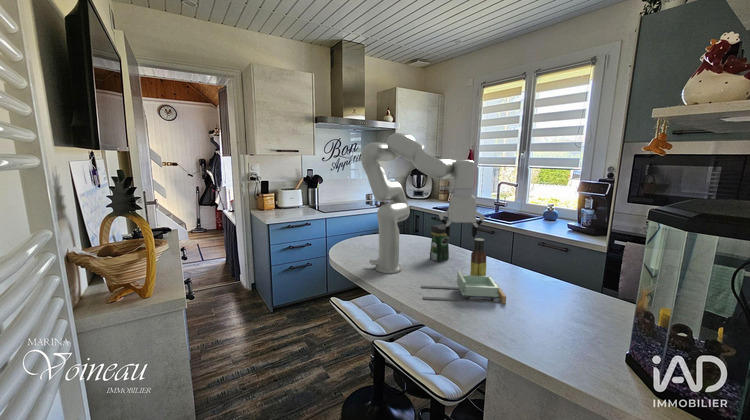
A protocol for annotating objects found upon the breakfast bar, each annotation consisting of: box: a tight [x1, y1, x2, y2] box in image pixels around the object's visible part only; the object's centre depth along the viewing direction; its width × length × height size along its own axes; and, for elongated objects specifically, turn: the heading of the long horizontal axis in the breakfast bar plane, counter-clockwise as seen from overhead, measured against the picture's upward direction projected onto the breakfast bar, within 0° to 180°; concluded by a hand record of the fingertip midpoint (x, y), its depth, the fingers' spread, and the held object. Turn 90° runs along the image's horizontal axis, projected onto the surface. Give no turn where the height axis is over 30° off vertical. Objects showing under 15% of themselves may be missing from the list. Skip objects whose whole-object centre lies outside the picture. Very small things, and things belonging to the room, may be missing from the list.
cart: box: [456, 270, 500, 300], centre depth 117 cm, size 13×11×7 cm
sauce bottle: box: [469, 237, 487, 276], centre depth 126 cm, size 6×6×20 cm
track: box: [420, 281, 507, 305], centre depth 118 cm, size 30×13×3 cm, turn 86°
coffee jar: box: [429, 223, 450, 263], centre depth 156 cm, size 10×8×19 cm
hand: (460, 236), depth 118 cm, fingers open, 9 cm apart
